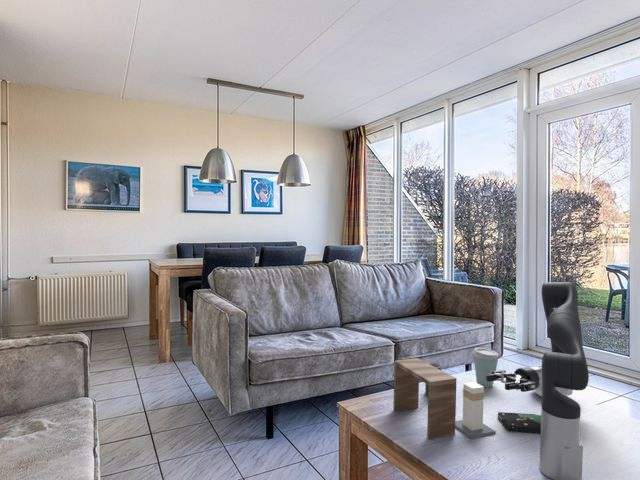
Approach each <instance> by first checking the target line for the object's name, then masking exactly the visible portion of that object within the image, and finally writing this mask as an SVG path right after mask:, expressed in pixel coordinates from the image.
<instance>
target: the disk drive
mask: <svg viewBox="0 0 640 480" xmlns="http://www.w3.org/2000/svg"><path fill="white" fill-rule="evenodd" d="M497 419H498V420H499V422H500V424H501V425H502V426H503V428H504V429H505V430H506V431H507V433H518V434H519V433H520V434H521V433H522V434H536V435H538V434H539V435H541V414H540V415H539V414H535V413H520V412H519V413H516V412H501V411H500V412H499V411H498V412H497Z"/></svg>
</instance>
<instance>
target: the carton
mask: <svg viewBox="0 0 640 480" xmlns="http://www.w3.org/2000/svg"><path fill="white" fill-rule="evenodd" d="M484 390H485V387H483V386H481V385H479V384H477V382H474V381H471V382H466V383H463V389H462V391H463V392H462V420H463V425H464V426H466V427H467V428H469V429H470V430H477V429H483V424H484V399H485V391H484Z"/></svg>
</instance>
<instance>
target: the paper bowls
mask: <svg viewBox="0 0 640 480" xmlns="http://www.w3.org/2000/svg"><path fill="white" fill-rule="evenodd" d="M555 389H556V390H557V391H559V392H560V393H561V394H563V395H565V396H567V397H569V396H571V395H572V394H573V391H574V390H571V389H565V388H559V387H555ZM534 391H535V393H536V394H537V395H538V396H540V398H542V388H539V389H535V390H534Z"/></svg>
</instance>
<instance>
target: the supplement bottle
mask: <svg viewBox="0 0 640 480" xmlns="http://www.w3.org/2000/svg"><path fill="white" fill-rule="evenodd" d="M429 364H430V365H432V366H434V367H436V368H438V369H439V370H441V371H442V369H441V368H442V367H441V365H440V364H437V363H429ZM424 386H425V388H424V389H425V391H424V392H425V395H426V396H427V397H428V384H426V383H424Z"/></svg>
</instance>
